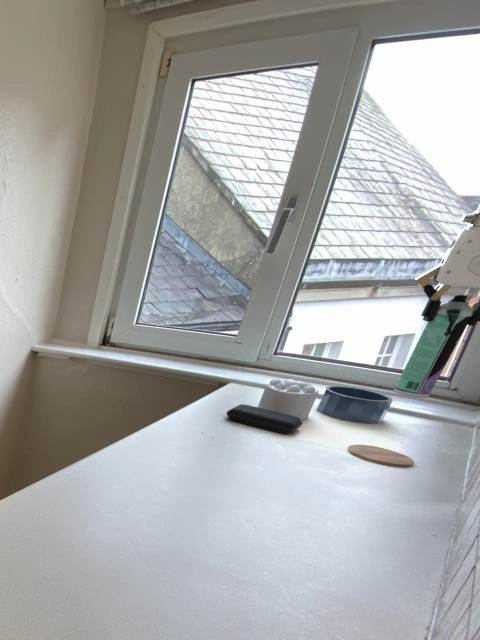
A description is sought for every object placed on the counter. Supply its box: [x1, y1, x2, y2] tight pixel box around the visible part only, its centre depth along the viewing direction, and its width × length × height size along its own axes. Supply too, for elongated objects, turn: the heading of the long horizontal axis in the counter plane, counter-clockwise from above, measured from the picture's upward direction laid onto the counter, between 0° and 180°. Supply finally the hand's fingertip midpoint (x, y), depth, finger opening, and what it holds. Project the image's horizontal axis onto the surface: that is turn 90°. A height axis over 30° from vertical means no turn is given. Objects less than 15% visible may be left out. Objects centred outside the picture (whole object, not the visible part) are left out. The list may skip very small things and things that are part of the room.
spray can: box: [393, 294, 474, 399], centre depth 111 cm, size 6×6×20 cm
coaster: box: [347, 444, 415, 468], centre depth 121 cm, size 11×11×1 cm
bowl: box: [316, 385, 394, 425], centre depth 147 cm, size 14×14×6 cm
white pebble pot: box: [257, 378, 320, 421], centre depth 144 cm, size 10×13×9 cm
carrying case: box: [226, 404, 303, 434], centre depth 138 cm, size 11×3×15 cm
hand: (448, 321), depth 109 cm, fingers closed on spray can, 5 cm apart
